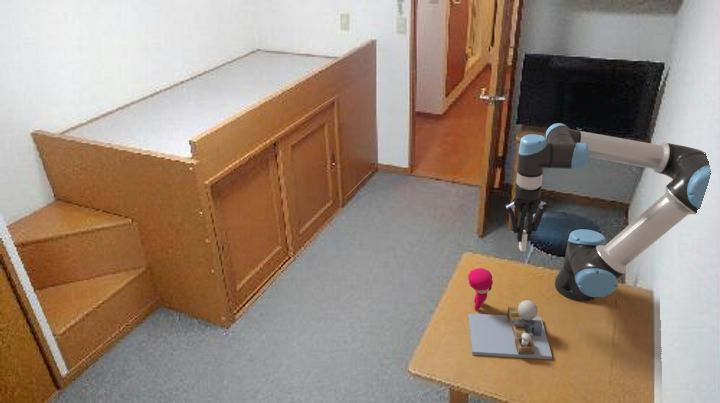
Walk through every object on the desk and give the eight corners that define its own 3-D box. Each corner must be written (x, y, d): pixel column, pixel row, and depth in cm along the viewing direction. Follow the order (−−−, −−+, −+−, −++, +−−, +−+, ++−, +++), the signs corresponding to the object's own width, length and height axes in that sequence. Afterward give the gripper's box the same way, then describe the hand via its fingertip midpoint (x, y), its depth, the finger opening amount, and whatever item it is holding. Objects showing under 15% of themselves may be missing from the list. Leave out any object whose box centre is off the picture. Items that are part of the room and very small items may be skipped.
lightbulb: (534, 337, 175) (538, 309, 170) (514, 333, 177) (518, 306, 172) (535, 325, 180) (539, 298, 176) (516, 321, 182) (519, 295, 177)
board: (540, 319, 183) (543, 304, 180) (551, 359, 167) (554, 343, 164) (468, 316, 185) (469, 300, 182) (472, 354, 170) (473, 338, 166)
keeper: (538, 333, 177) (541, 320, 174) (540, 338, 175) (542, 325, 172) (511, 332, 178) (513, 319, 175) (512, 337, 176) (514, 324, 173)
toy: (491, 314, 186) (496, 279, 178) (467, 314, 186) (470, 279, 179) (487, 298, 193) (491, 264, 186) (463, 299, 193) (466, 264, 186)
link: (533, 353, 167) (535, 344, 166) (518, 354, 167) (519, 345, 166) (518, 315, 183) (520, 306, 181) (504, 315, 183) (505, 307, 181)
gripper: (545, 177, 170) (538, 241, 181) (504, 180, 170) (499, 244, 181) (554, 188, 163) (546, 254, 174) (511, 191, 163) (505, 257, 174)
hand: (522, 249), depth 178 cm, fingers closed
